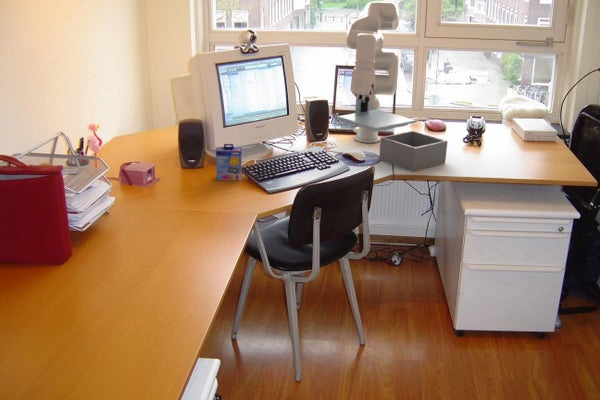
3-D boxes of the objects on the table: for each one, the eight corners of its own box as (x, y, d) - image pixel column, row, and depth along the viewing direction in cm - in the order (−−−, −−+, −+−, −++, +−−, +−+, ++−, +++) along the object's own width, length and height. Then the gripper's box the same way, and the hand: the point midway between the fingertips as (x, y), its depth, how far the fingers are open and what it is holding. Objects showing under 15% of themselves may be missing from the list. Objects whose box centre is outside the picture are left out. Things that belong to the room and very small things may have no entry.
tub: (379, 159, 290) (380, 137, 286) (410, 152, 301) (412, 130, 298) (413, 171, 275) (415, 148, 271) (445, 163, 287) (447, 140, 283)
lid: (337, 121, 266) (338, 101, 263) (376, 114, 279) (377, 95, 276) (376, 133, 250) (377, 112, 247) (415, 125, 263) (417, 105, 260)
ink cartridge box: (216, 180, 259) (215, 144, 254) (216, 176, 264) (215, 140, 259) (241, 180, 260) (241, 144, 254) (241, 175, 265) (241, 140, 260)
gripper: (344, 63, 267) (342, 108, 273) (371, 69, 255) (368, 116, 262) (358, 62, 271) (355, 106, 278) (385, 67, 260) (382, 113, 266)
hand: (362, 110), depth 270 cm, fingers closed on lid, 1 cm apart
